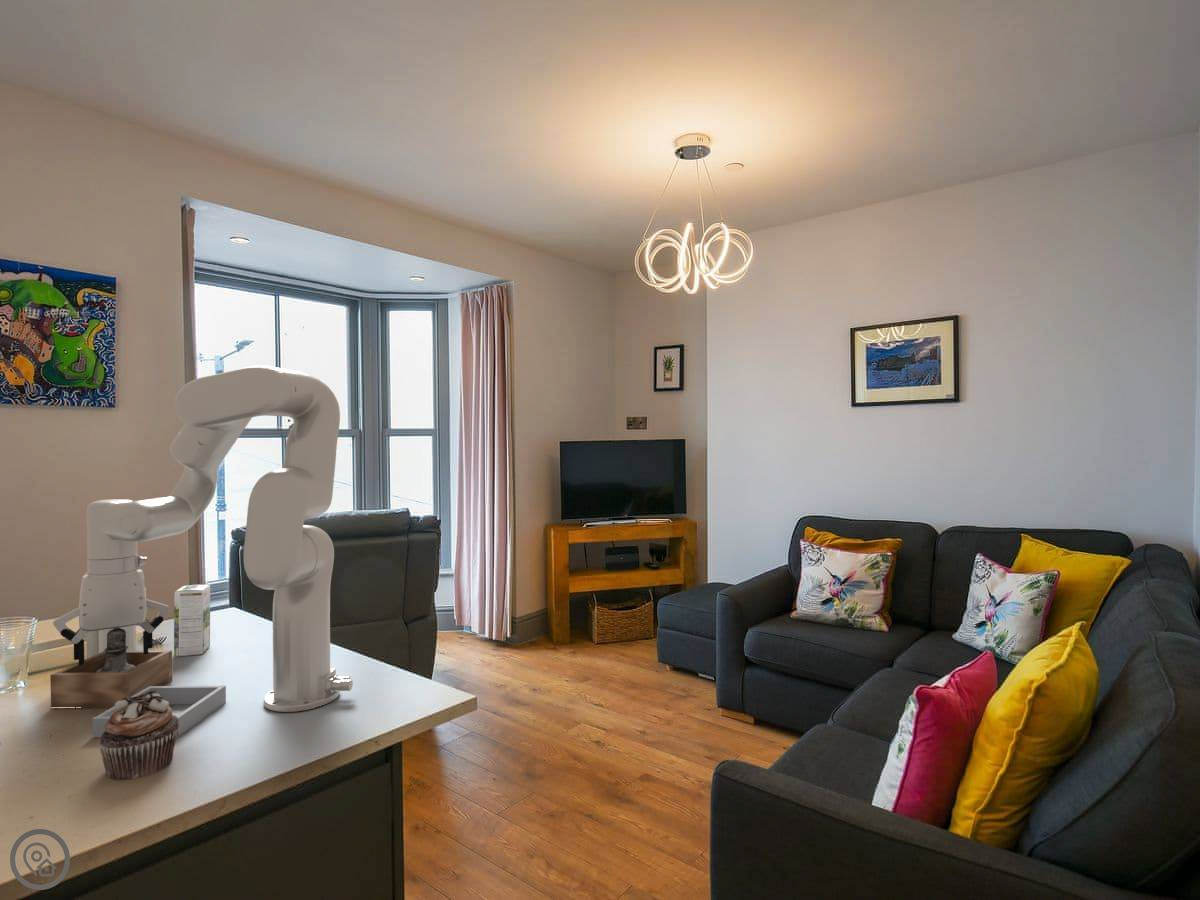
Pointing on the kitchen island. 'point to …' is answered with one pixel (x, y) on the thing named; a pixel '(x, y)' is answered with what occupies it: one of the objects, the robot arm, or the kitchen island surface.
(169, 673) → the walnut bin
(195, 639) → the syrup box
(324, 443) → the robot arm
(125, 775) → the cupcake
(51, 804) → the kitchen island surface
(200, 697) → the grey frame
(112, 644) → the grey chess piece
